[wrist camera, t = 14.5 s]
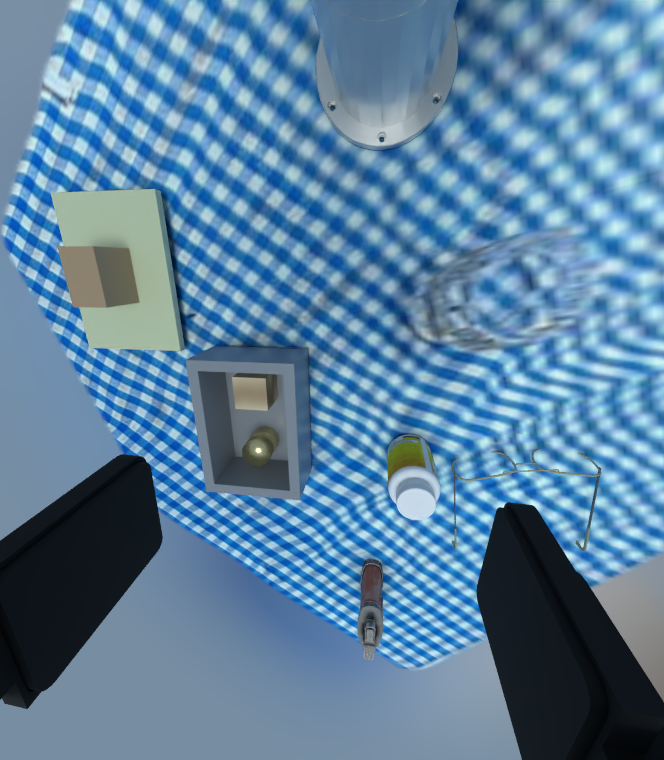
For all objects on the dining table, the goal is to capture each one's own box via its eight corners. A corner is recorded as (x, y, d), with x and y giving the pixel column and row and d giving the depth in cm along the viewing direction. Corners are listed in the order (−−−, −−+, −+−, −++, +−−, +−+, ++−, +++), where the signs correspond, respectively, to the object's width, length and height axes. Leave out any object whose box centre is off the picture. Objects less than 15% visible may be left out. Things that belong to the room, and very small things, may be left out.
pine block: (245, 366, 41) (231, 376, 38) (276, 368, 41) (265, 378, 37) (248, 396, 43) (235, 408, 39) (278, 397, 42) (267, 410, 39)
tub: (216, 345, 42) (185, 360, 35) (308, 347, 40) (293, 364, 34) (230, 460, 48) (206, 491, 41) (311, 466, 46) (300, 500, 39)
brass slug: (252, 425, 44) (240, 440, 40) (278, 427, 44) (268, 442, 40) (254, 448, 45) (243, 465, 42) (280, 450, 45) (270, 467, 41)
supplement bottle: (378, 452, 44) (377, 504, 34) (407, 424, 42) (414, 471, 32) (410, 477, 44) (417, 535, 35) (440, 450, 42) (456, 504, 33)
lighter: (381, 598, 52) (381, 671, 43) (360, 595, 53) (355, 667, 43) (384, 560, 50) (384, 628, 40) (361, 557, 50) (357, 624, 41)
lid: (70, 197, 39) (1, 182, 32) (169, 193, 37) (119, 177, 30) (104, 343, 45) (53, 358, 38) (191, 346, 43) (154, 362, 36)
